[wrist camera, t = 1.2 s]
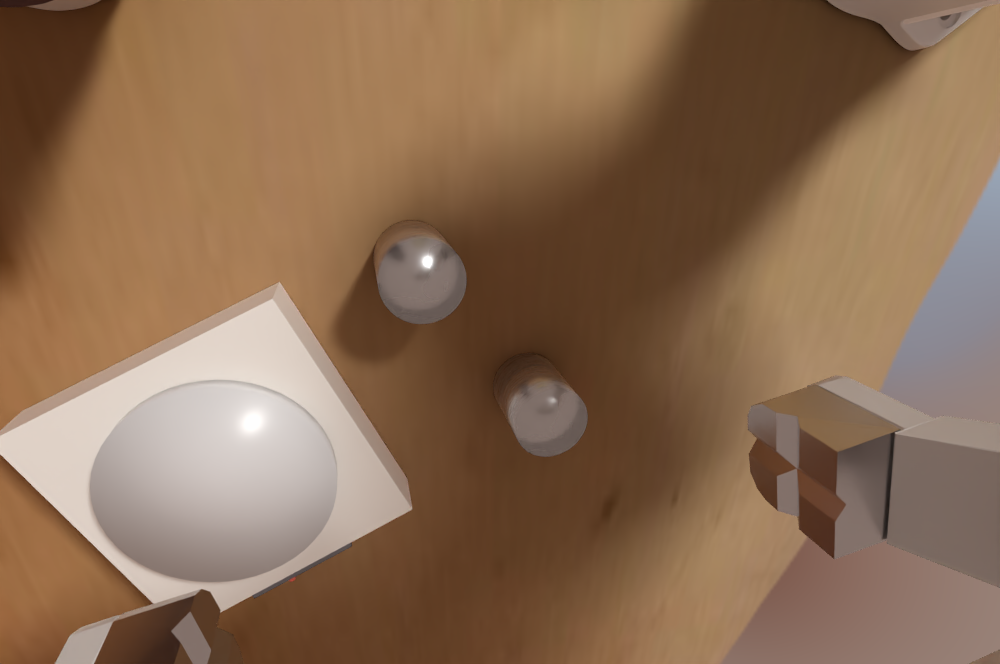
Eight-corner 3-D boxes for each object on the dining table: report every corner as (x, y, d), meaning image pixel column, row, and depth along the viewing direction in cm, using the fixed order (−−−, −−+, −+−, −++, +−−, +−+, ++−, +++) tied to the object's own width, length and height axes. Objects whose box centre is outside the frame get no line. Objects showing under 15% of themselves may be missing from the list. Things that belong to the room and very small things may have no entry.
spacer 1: (428, 206, 30) (442, 222, 25) (461, 273, 32) (480, 299, 27) (359, 241, 30) (361, 264, 25) (396, 306, 31) (404, 338, 27)
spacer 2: (542, 341, 34) (572, 375, 30) (566, 393, 36) (597, 433, 31) (482, 373, 34) (503, 412, 29) (509, 424, 36) (532, 469, 31)
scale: (279, 281, 29) (270, 304, 26) (412, 486, 35) (419, 528, 32) (21, 411, 29) (-26, 454, 25) (202, 598, 35) (185, 655, 31)
